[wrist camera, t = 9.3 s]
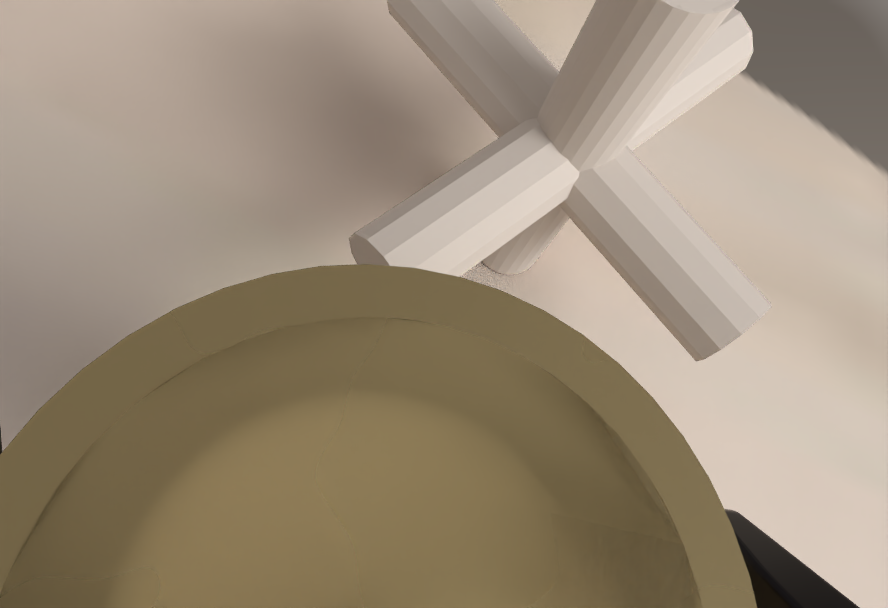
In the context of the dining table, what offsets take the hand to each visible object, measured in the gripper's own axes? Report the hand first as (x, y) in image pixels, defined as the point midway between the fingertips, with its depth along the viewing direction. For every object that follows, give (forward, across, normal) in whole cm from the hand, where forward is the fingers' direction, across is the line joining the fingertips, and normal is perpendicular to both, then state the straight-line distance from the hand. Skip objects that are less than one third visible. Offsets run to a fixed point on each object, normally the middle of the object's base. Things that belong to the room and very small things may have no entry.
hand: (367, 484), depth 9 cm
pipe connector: (+11, -3, 0) cm, 11 cm away
